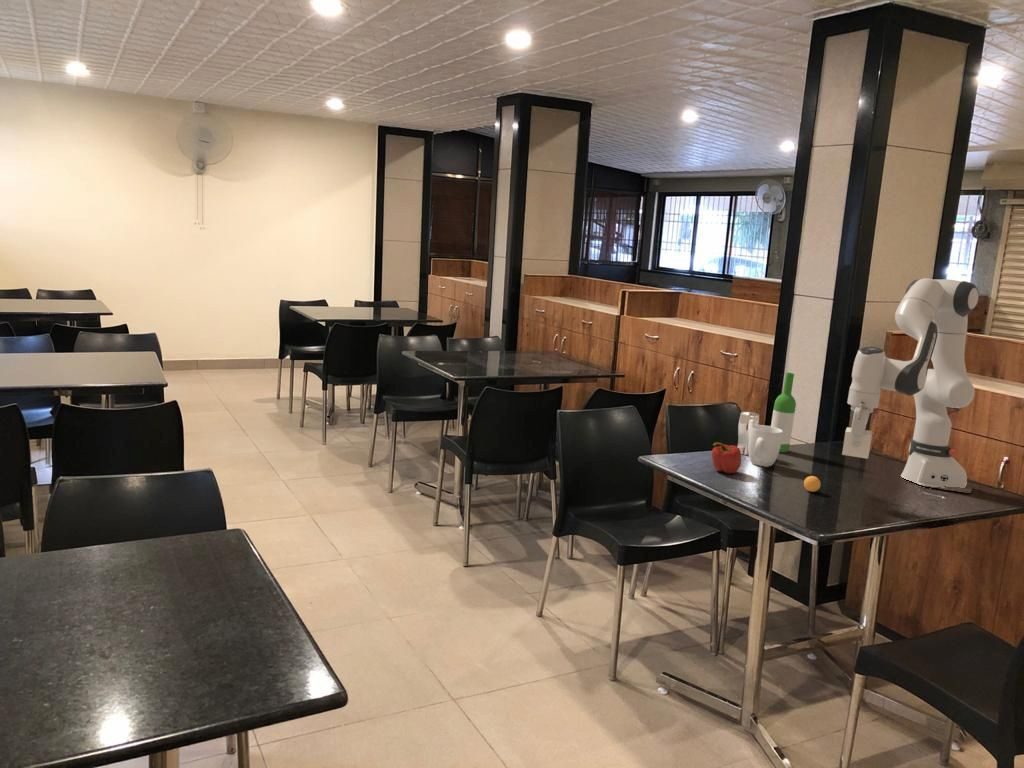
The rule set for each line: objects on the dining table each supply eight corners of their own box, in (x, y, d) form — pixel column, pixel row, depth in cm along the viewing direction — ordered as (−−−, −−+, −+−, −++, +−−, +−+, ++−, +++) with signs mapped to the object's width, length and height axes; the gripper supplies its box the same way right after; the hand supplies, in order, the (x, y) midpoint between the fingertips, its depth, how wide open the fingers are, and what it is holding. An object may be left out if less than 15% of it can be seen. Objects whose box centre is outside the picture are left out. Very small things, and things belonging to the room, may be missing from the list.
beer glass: (756, 456, 300) (762, 416, 297) (737, 454, 300) (743, 414, 297) (750, 451, 307) (756, 412, 304) (732, 449, 307) (738, 410, 304)
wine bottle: (792, 453, 310) (805, 375, 304) (774, 453, 308) (787, 374, 302) (780, 447, 317) (792, 371, 312) (763, 447, 315) (775, 370, 309)
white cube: (869, 453, 256) (872, 431, 255) (867, 458, 250) (871, 435, 248) (843, 449, 259) (847, 427, 258) (842, 454, 253) (845, 431, 251)
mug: (770, 473, 278) (775, 436, 276) (738, 466, 284) (743, 429, 282) (780, 464, 291) (786, 429, 289) (749, 458, 297) (755, 423, 294)
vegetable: (716, 476, 269) (720, 446, 267) (701, 466, 279) (705, 438, 277) (745, 476, 271) (750, 447, 270) (730, 467, 281) (734, 439, 280)
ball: (801, 479, 265) (810, 492, 264) (799, 482, 260) (808, 496, 259) (815, 471, 263) (824, 485, 262) (813, 474, 258) (823, 488, 257)
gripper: (873, 407, 241) (865, 452, 243) (875, 396, 259) (868, 439, 262) (850, 403, 243) (843, 448, 246) (854, 393, 262) (847, 435, 264)
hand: (856, 443), depth 254 cm, fingers closed on white cube, 7 cm apart
